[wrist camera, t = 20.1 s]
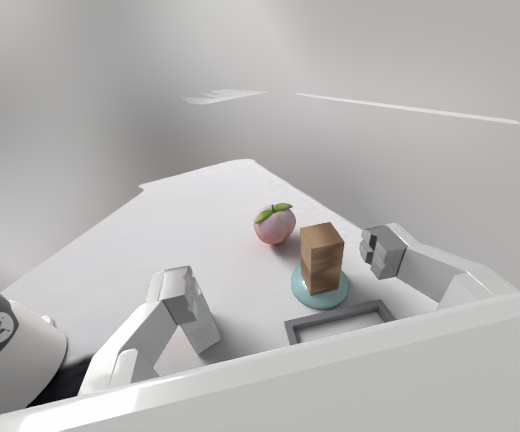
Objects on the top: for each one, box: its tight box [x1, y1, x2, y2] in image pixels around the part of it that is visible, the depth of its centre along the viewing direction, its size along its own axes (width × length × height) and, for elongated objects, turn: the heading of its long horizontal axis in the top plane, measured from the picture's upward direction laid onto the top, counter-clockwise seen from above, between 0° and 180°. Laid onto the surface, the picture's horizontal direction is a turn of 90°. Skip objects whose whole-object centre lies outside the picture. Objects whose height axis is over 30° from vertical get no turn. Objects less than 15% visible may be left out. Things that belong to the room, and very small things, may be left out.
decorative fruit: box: [254, 203, 296, 244], centre depth 51 cm, size 9×8×10 cm
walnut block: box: [300, 222, 344, 296], centre depth 39 cm, size 5×5×11 cm
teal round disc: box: [291, 265, 349, 310], centre depth 42 cm, size 10×10×1 cm
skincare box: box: [180, 273, 222, 354], centre depth 34 cm, size 6×4×12 cm
